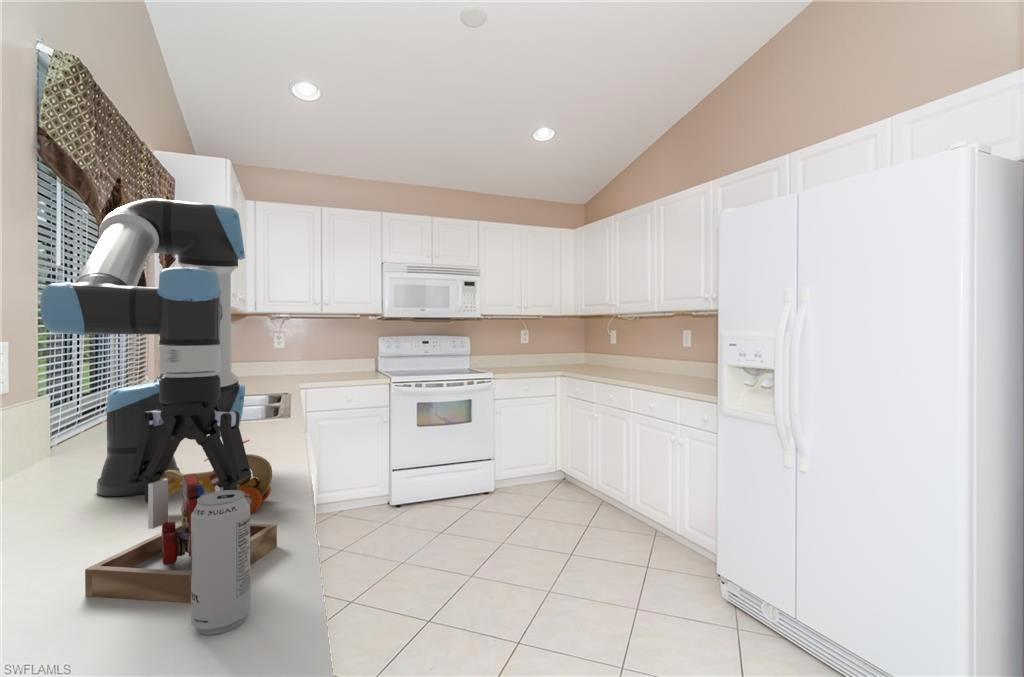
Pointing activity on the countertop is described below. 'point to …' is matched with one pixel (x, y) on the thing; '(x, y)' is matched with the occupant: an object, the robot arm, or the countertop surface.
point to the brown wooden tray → (159, 569)
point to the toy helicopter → (252, 488)
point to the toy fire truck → (181, 540)
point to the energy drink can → (220, 561)
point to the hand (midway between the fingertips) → (191, 526)
